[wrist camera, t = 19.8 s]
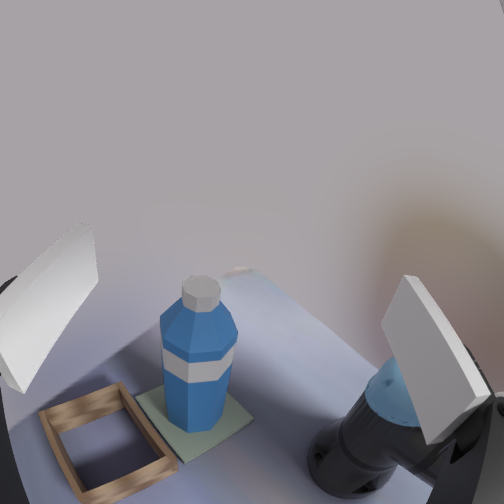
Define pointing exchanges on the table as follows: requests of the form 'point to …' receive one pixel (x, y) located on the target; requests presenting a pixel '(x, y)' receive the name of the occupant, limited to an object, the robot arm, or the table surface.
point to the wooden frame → (93, 408)
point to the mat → (196, 442)
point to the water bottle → (197, 355)
